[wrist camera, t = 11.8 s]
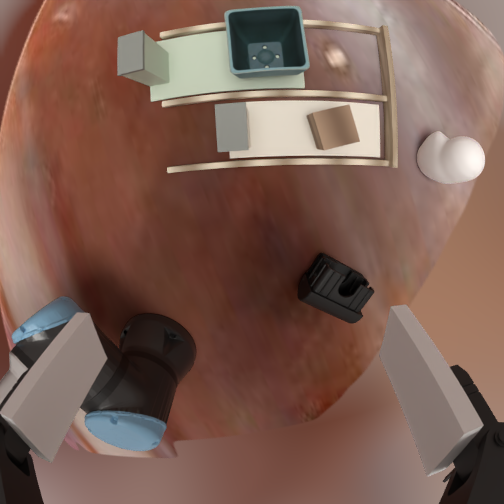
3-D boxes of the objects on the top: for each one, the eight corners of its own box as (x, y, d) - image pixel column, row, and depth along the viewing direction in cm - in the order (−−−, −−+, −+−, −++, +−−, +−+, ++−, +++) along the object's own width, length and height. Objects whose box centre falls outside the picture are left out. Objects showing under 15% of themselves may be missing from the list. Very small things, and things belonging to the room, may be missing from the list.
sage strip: (151, 102, 37) (118, 93, 27) (150, 44, 33) (118, 22, 23) (304, 88, 36) (319, 72, 26) (299, 29, 32) (311, -2, 22)
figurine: (451, 142, 37) (498, 149, 26) (442, 184, 40) (486, 201, 29) (419, 126, 37) (464, 128, 26) (409, 171, 40) (452, 185, 28)
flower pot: (231, 34, 32) (223, 10, 24) (293, 29, 32) (300, 5, 24) (236, 87, 36) (230, 74, 27) (300, 83, 35) (310, 69, 27)
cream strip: (229, 158, 40) (218, 165, 30) (226, 104, 37) (213, 92, 27) (378, 156, 39) (413, 165, 29) (377, 105, 36) (412, 97, 26)
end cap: (294, 285, 47) (299, 307, 41) (317, 249, 45) (326, 268, 39) (342, 308, 49) (351, 331, 43) (365, 276, 47) (379, 296, 40)
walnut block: (316, 149, 39) (324, 150, 34) (306, 115, 37) (312, 112, 32) (349, 140, 38) (360, 141, 33) (339, 107, 36) (349, 104, 32)
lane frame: (170, 171, 41) (164, 174, 38) (163, 35, 33) (156, 29, 30) (389, 165, 39) (397, 167, 37) (380, 31, 31) (387, 26, 28)
